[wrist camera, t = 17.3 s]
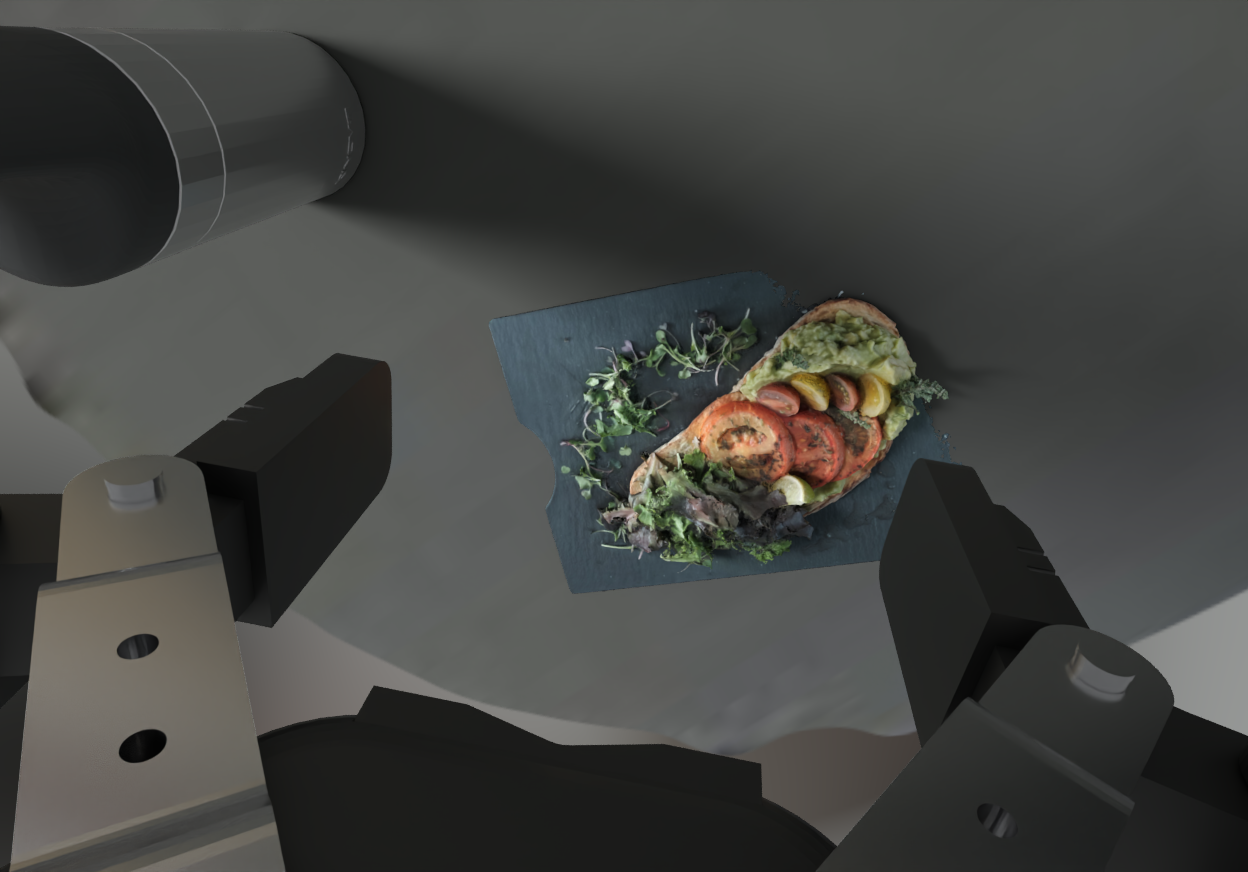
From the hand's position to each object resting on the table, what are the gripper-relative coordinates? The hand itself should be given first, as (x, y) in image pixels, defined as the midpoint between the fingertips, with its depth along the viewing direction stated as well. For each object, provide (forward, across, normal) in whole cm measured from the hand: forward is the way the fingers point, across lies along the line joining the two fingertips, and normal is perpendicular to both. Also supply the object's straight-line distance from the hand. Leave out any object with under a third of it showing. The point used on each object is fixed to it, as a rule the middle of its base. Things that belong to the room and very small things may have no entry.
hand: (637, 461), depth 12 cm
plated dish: (+37, -5, +17) cm, 41 cm away
